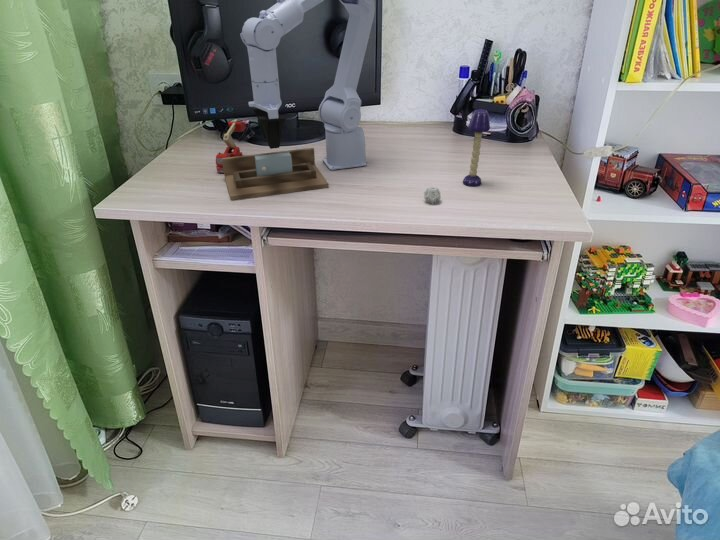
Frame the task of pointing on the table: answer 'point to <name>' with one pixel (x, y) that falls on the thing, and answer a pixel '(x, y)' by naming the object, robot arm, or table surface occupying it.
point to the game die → (432, 195)
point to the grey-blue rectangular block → (273, 164)
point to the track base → (272, 176)
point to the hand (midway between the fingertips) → (271, 142)
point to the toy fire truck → (230, 144)
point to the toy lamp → (476, 144)
